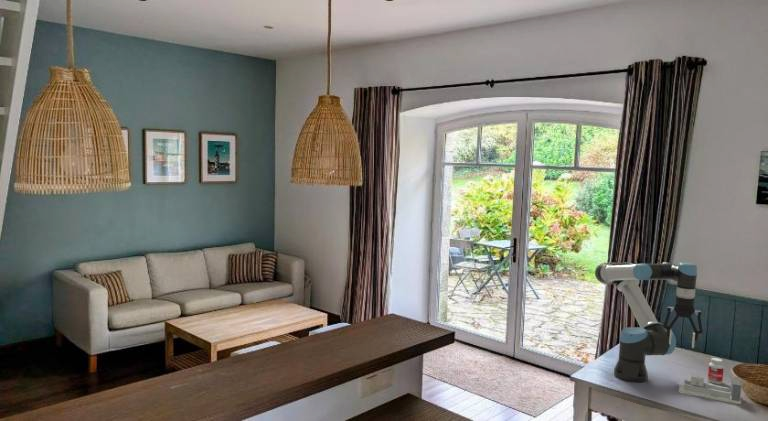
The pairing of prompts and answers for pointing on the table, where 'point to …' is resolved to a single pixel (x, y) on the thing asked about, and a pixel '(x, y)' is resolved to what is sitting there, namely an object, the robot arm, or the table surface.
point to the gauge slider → (698, 380)
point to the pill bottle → (715, 371)
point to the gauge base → (714, 391)
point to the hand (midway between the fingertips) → (681, 345)
